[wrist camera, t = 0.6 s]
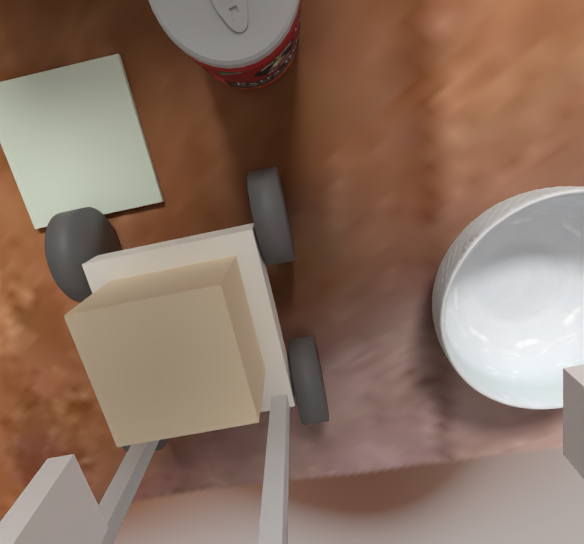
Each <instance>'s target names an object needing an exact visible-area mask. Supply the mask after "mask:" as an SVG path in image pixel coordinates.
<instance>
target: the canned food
mask: <svg viewBox="0 0 584 544" xmlns="http://www.w3.org/2000/svg"><path fill="white" fill-rule="evenodd" d="M149 3H150V6H151V8H152V11H153V13H154V14H155V16H156V18H157V20H158V22H159V23H160V25H161V27H162V28H163V30H164V31H165V32H166V33H167V35H168V36H169V37H170V38H171V40H172V41H173V42H174V43H175V44H176V45H177V46H178V47H179V48H180V49H181V50H182V51H184V52H185V53H186V54H187V55H188V56H189V57H190V58H192V59H193V60H194V61H195V62H197V63H198V64H199V65H201V66H202V67H203V68H204V69H206V70H207V71H208V72H210V73H211V74H212V75H214V76H215V77H216V78H217V79H219V80H220V81H222V82H224V83H225V84H227V85H229V86H232V87H235V88H238V89H246V90H251V89H259V88H262V87H265V86H268V85H270V84H271V83H273V82H275V81H276V80H278V79H279V78H280V77H281V76H282V75H283V74H284V73H285V72H286V70H287V69H288V67H289V66H290V65H291V63H292V60H293V58H294V56H295V54H296V50H297V46H298V42H299V27H300V10H301V0H149Z"/></svg>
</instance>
